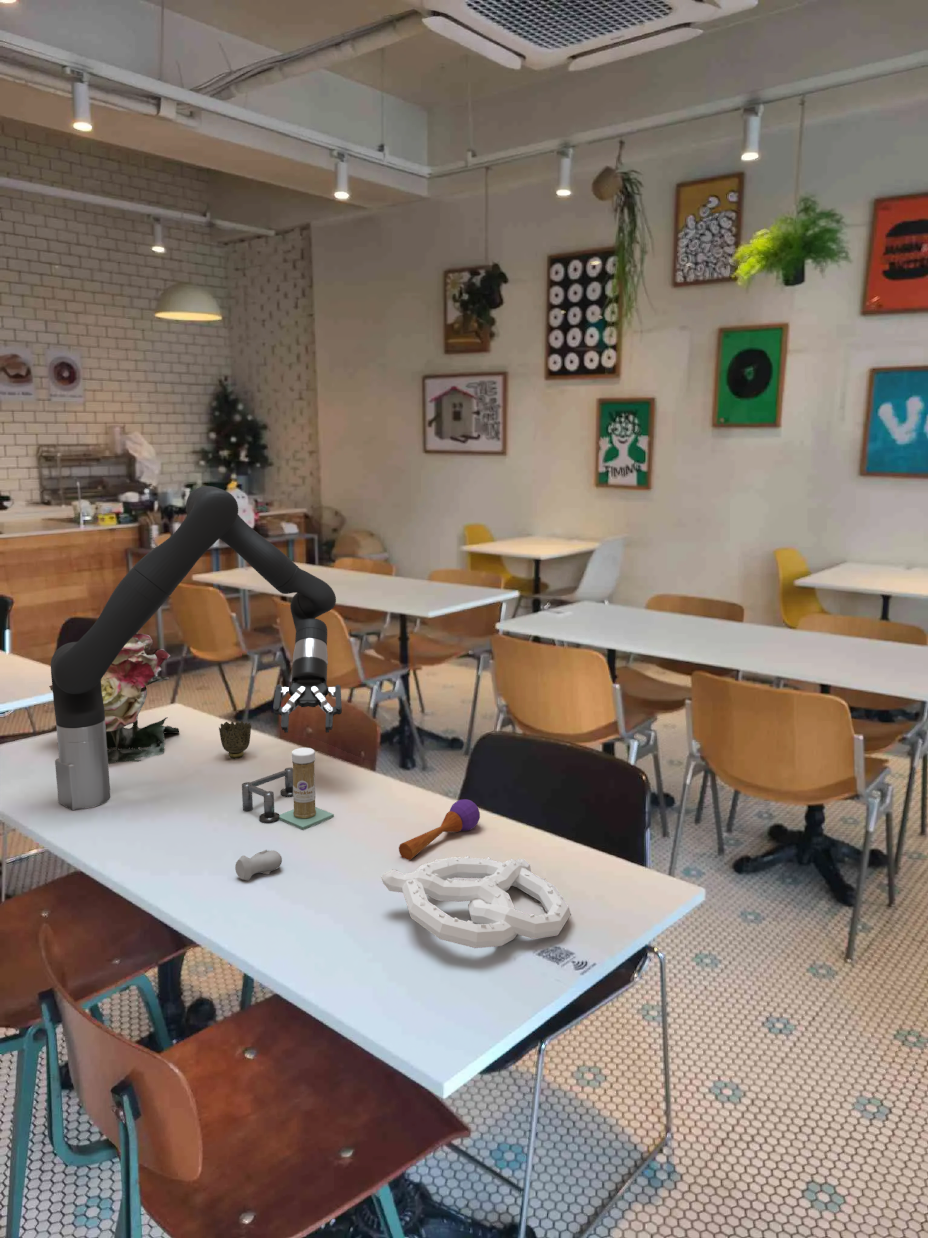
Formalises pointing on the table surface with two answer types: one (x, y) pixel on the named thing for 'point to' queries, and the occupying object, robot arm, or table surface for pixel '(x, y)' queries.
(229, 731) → the dark brown scalloped piece
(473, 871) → the pretzel
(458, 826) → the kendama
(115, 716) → the rose bouquet
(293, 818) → the pad
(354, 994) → the table surface
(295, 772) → the sprinkles bottle
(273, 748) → the table surface
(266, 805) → the grey jointed rod frame
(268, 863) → the grey figurine
